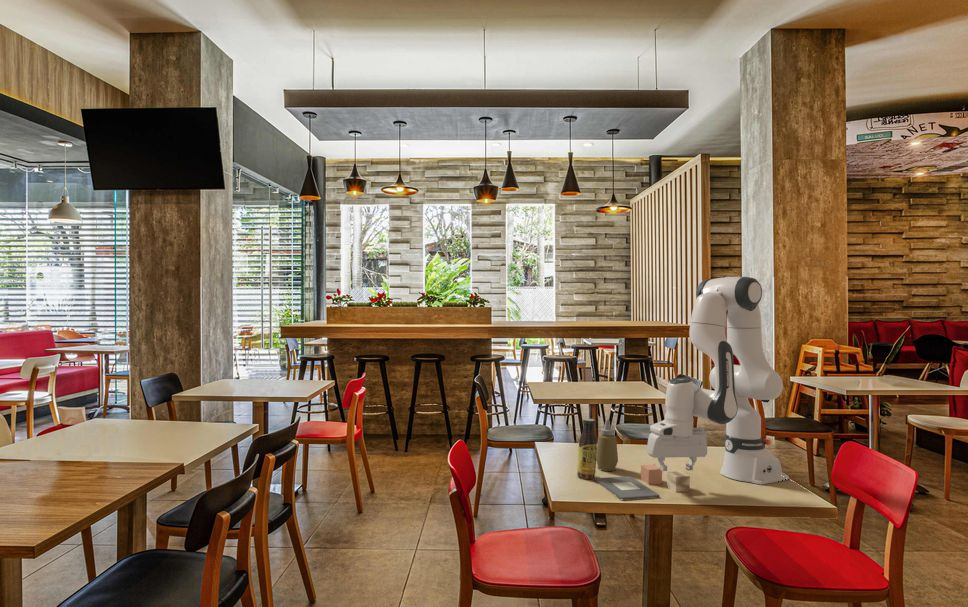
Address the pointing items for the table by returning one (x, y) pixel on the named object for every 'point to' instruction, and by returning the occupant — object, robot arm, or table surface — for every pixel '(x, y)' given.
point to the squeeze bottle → (607, 449)
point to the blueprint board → (626, 487)
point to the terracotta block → (651, 474)
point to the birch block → (678, 481)
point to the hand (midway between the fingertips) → (676, 470)
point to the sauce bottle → (587, 451)
